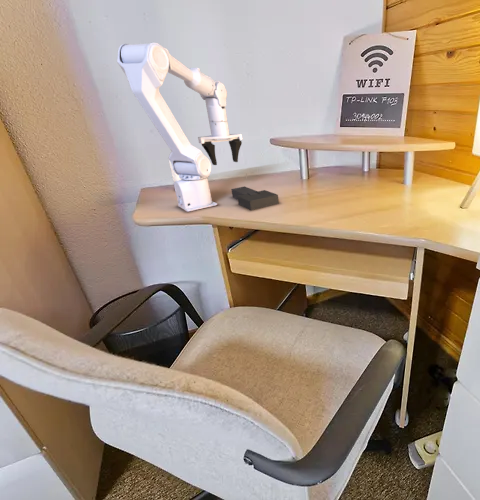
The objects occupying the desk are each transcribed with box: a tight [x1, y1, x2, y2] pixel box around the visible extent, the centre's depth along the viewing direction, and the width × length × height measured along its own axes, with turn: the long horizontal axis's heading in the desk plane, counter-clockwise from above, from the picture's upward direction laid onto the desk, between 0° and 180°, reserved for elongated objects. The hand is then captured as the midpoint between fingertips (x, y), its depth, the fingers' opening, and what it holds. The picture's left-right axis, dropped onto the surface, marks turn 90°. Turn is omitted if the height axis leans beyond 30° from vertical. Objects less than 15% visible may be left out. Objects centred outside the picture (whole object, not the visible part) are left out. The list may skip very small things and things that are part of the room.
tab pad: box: [231, 186, 259, 201], centre depth 107 cm, size 5×11×3 cm, turn 45°
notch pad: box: [237, 189, 280, 211], centre depth 102 cm, size 10×8×3 cm
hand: (225, 163), depth 111 cm, fingers open, 7 cm apart
